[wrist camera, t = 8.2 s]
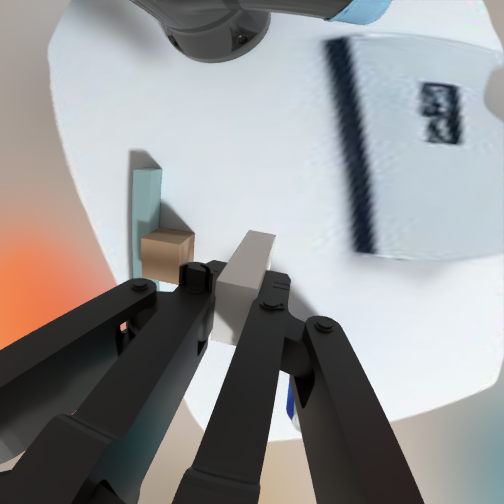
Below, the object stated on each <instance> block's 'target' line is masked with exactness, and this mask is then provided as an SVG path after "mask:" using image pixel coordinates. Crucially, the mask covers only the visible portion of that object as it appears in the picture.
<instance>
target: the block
mask: <svg viewBox="0 0 504 504" xmlns="http://www.w3.org/2000/svg"><path fill="white" fill-rule="evenodd" d="M194 238H195V233H191V232H185V231H179V230H172V229H166V228H160V227H159V228H158V229H156V230H154V231H152V232H151V233H149V234H147V235H146V236H144V237H142V238H141V261H142V277H145V278H150V279H154V280H158V281H163V282H167V283H172V284H177V285H179V266H180V265H182V264H183V263H187V262H193V257H194Z"/></svg>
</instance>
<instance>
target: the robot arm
mask: <svg viewBox="0 0 504 504" xmlns="http://www.w3.org/2000/svg"><path fill="white" fill-rule="evenodd" d="M130 1H132V2H133V3H135V4H136V5H138V6H139V7H141V8H142V9H144V10H145V11H147V12H148V13H149V14H151V15H152V16H154V17H155V18H157V19H158V20H159V21H161V22H162V23H163V24H164V26H165V29H166V32H167V36H168V38H169V40H170V42H171V43H172V45H173V46H174V47H175V48H176V49H177V50H178V51H179V52H181V53H182V54H184V55H185V56H187V57H188V58H190V59H192V60H195V61H199V62H204V63H220V62H226V61H230V60H233V59H236V58H238V57H240V56H242V55H244V54H246V53H247V52H249V51H250V50H252V49H253V48H254V47H255V46H257V45H258V44H259V42H260V41H261V40H262V39H263V37H264V36H265V34H266V33H267V30H268V28H269V25H270V19H271V14H270V12H274V13H285V14H294V15H302V16H309V17H315V18H321V19H324V21H328V22H332V21H340V22H346V23H351V24H356V25H367V24H370V23H373V22H374V21H376V20H378V19H379V18H380V17H381V16H382V15H383V14H384V13H385V12H386V10H387V9H388V7H389V6H390V4H391V2H392V1H393V0H130ZM275 237H276V235H273V234H268V233H262V232H257V231H252V230H249V231H248V233H247V234H246V236H245V237H244V239H243V240H242V242H241V243H240V245H239V246H238V248H237V249H236V251H235V253H234V254H233V256H232V257H231V259H230V260H229V262H228V263H226V262H221V261H216V260H213V261H211V262H208V263H206V264H204V263H200V262H187V263H183V264H182V265H180V266H179V286H178V287H177V288H176V289H175V290H174V291H173V292H162V291H157V285H156V283H155V282H153V281H152V280H149V279H146V278H134V279H131V280H128V281H126V282H124V283H122V284H120V285H118V286H116V287H114V288H113V289H110V290H109V291H107V292H105V293H103V294H101V295H99V296H97V297H95V298H93V299H92V300H90V301H88V302H86V303H84V304H82V305H80V306H79V307H77V308H75V309H73V310H71V311H69V312H68V313H66V314H64V315H62V316H60V317H58V318H56V319H55V320H53V321H51V322H49V323H47V324H46V325H44V326H42V327H41V328H38V329H37V330H35V331H33V332H31V333H29V334H28V335H26V336H24V337H22V338H21V339H19V340H17V341H15V342H14V343H12V344H10V345H9V346H7V347H5V348H3V349H2V350H0V464H2V463H4V462H7V461H8V460H11V459H13V458H15V457H16V456H18V455H19V454H20V453H22V452H24V451H25V450H26V451H25V453H24V454H23V455H22V457H21V458H20V459H19V460H18V462H17V463H16V465H15V466H14V467H13V468H12V470H8V471H3V472H0V504H137V503H138V500H139V495H140V487H141V484H142V481H143V479H144V477H145V475H146V473H147V471H148V469H149V467H150V464H151V463H152V461H153V459H154V456H155V454H156V452H157V450H158V448H159V446H160V444H161V442H162V440H163V438H164V436H165V434H166V432H167V430H168V427H169V425H170V423H171V421H172V419H173V417H174V415H175V413H176V411H177V409H178V407H179V405H180V403H181V401H182V399H183V396H184V394H185V392H186V390H187V388H188V386H189V384H190V382H191V380H192V378H193V376H194V374H195V372H196V370H197V367H198V365H199V363H200V361H201V359H202V357H203V355H204V353H205V351H206V349H207V345H208V336H209V334H210V333H211V340H214V341H218V342H222V343H226V344H230V345H235V346H237V347H236V349H235V352H234V355H233V358H232V360H231V363H230V366H229V369H228V371H227V374H226V377H225V379H224V382H223V385H222V388H221V390H220V393H219V396H218V398H217V401H216V404H215V406H214V409H213V412H212V414H211V417H210V420H209V422H208V425H207V428H206V430H205V433H204V436H203V438H202V441H201V444H200V446H199V449H198V452H197V454H196V457H195V459H194V462H193V464H192V466H191V467H190V468H188V469H187V470H186V472H185V473H184V475H183V478H182V480H181V482H180V484H179V487H178V489H177V492H176V494H175V497H174V500H173V502H172V504H258V500H259V494H260V476H261V471H262V466H263V461H264V456H265V451H266V446H267V441H268V435H269V430H270V424H271V418H272V413H273V407H274V401H275V395H276V389H277V383H278V377H279V370H281V371H283V372H286V373H288V374H290V384H291V388H292V393H293V397H294V402H295V406H296V411H297V415H298V420H299V424H300V429H301V433H302V438H303V442H304V447H305V451H306V455H307V460H308V464H309V469H310V474H311V478H312V483H313V488H314V492H315V497H316V502H317V504H424V501H423V499H422V497H421V494H420V492H419V489H418V487H417V484H416V482H415V480H414V477H413V475H412V473H411V470H410V468H409V466H408V464H407V461H406V459H405V457H404V454H403V452H402V450H401V448H400V446H399V443H398V441H397V439H396V437H395V435H394V432H393V430H392V428H391V426H390V424H389V421H388V419H387V417H386V415H385V413H384V411H383V409H382V407H381V405H380V402H379V400H378V398H377V396H376V394H375V392H374V390H373V388H372V386H371V384H370V382H369V380H368V378H367V376H366V374H365V372H364V370H363V368H362V366H361V364H360V362H359V360H358V358H357V356H356V354H355V352H354V350H353V348H352V346H351V344H350V342H349V340H348V338H347V336H346V334H345V333H344V331H343V329H342V327H341V326H340V324H339V323H338V322H336V321H335V320H333V319H331V318H328V317H325V316H313V317H310V318H308V319H307V321H306V322H303V321H301V320H299V319H297V318H295V317H294V316H292V315H291V314H290V313H289V311H288V298H289V290H290V283H291V279H290V278H289V276H288V275H287V274H284V273H279V272H274V271H269V270H270V264H271V259H272V253H273V248H274V242H275ZM124 322H126V329H125V330H123V331H121V330H120V325H121V324H123V323H124ZM211 331H212V332H211ZM76 410H77V411H76ZM75 411H76V412H75ZM74 412H75V413H74ZM72 413H74V414H72ZM71 414H72V415H71Z"/></svg>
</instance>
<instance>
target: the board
mask: <svg viewBox="0 0 504 504" xmlns="http://www.w3.org/2000/svg"><path fill="white" fill-rule="evenodd" d="M161 179H162V169H156V168H140V169H134V170H133V194H132V255H133V279H134V278H145V277H142V261H141V238H142V237H144V236H146V235H147V234H149V233H151V232H152V231H154V230H156V229H158V228H159V223H160V197H161ZM146 279H149V280H152V281H153V282H155V283H156V285H157V291H159V281H158V280H154V279H150V278H146Z"/></svg>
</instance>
